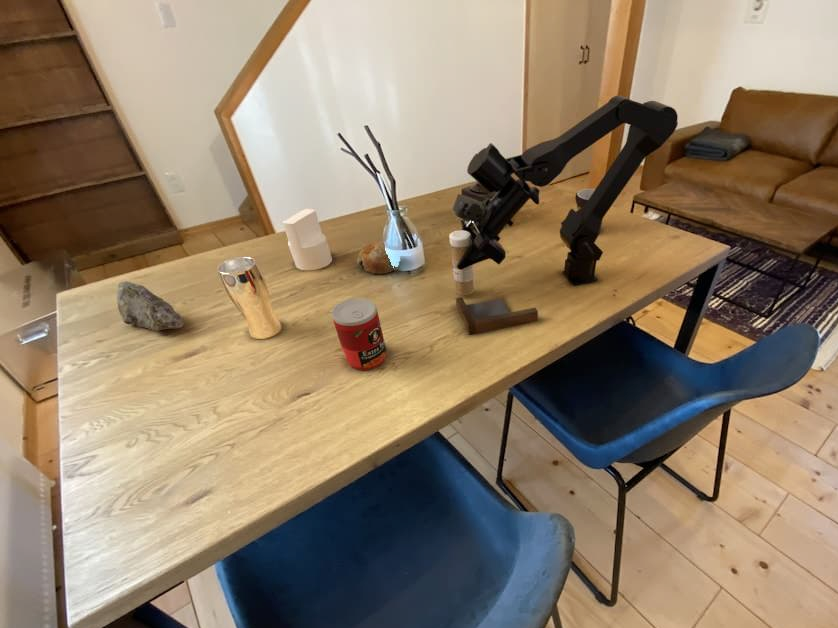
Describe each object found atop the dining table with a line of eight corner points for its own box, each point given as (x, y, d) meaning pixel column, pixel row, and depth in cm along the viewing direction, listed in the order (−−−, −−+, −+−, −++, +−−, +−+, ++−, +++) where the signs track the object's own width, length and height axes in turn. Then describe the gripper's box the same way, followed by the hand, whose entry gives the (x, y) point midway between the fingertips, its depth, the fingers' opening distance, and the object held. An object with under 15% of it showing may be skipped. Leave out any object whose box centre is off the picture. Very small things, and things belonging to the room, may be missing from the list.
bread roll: (387, 289, 109) (395, 264, 103) (349, 270, 107) (355, 243, 102) (402, 270, 116) (410, 245, 111) (366, 251, 114) (372, 226, 109)
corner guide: (520, 295, 100) (520, 286, 98) (537, 320, 92) (538, 311, 90) (456, 308, 96) (455, 298, 94) (469, 335, 89) (468, 325, 87)
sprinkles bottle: (451, 288, 100) (445, 232, 91) (469, 283, 101) (465, 227, 92) (459, 297, 97) (454, 240, 88) (478, 292, 98) (474, 235, 89)
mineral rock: (188, 334, 90) (162, 291, 83) (126, 352, 86) (94, 309, 79) (183, 305, 98) (159, 264, 91) (127, 320, 94) (97, 278, 87)
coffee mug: (605, 236, 122) (611, 200, 115) (575, 236, 122) (579, 200, 116) (599, 219, 131) (604, 184, 124) (570, 219, 131) (574, 185, 124)
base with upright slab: (318, 272, 108) (302, 225, 100) (288, 267, 110) (270, 221, 102) (339, 256, 115) (326, 211, 106) (310, 251, 117) (295, 207, 109)
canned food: (368, 376, 80) (353, 327, 72) (337, 361, 83) (320, 313, 75) (396, 353, 84) (385, 305, 77) (366, 340, 88) (353, 293, 80)
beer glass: (249, 344, 87) (215, 277, 77) (246, 326, 92) (214, 261, 82) (286, 334, 89) (258, 268, 79) (281, 317, 94) (254, 252, 84)
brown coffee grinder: (460, 221, 130) (455, 156, 118) (484, 210, 137) (482, 147, 125) (500, 235, 123) (499, 168, 111) (524, 222, 129) (525, 157, 117)
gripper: (465, 165, 91) (420, 224, 96) (487, 197, 77) (433, 263, 83) (502, 199, 97) (458, 252, 103) (528, 233, 84) (476, 292, 89)
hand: (456, 263), depth 94 cm, fingers closed on sprinkles bottle, 4 cm apart
